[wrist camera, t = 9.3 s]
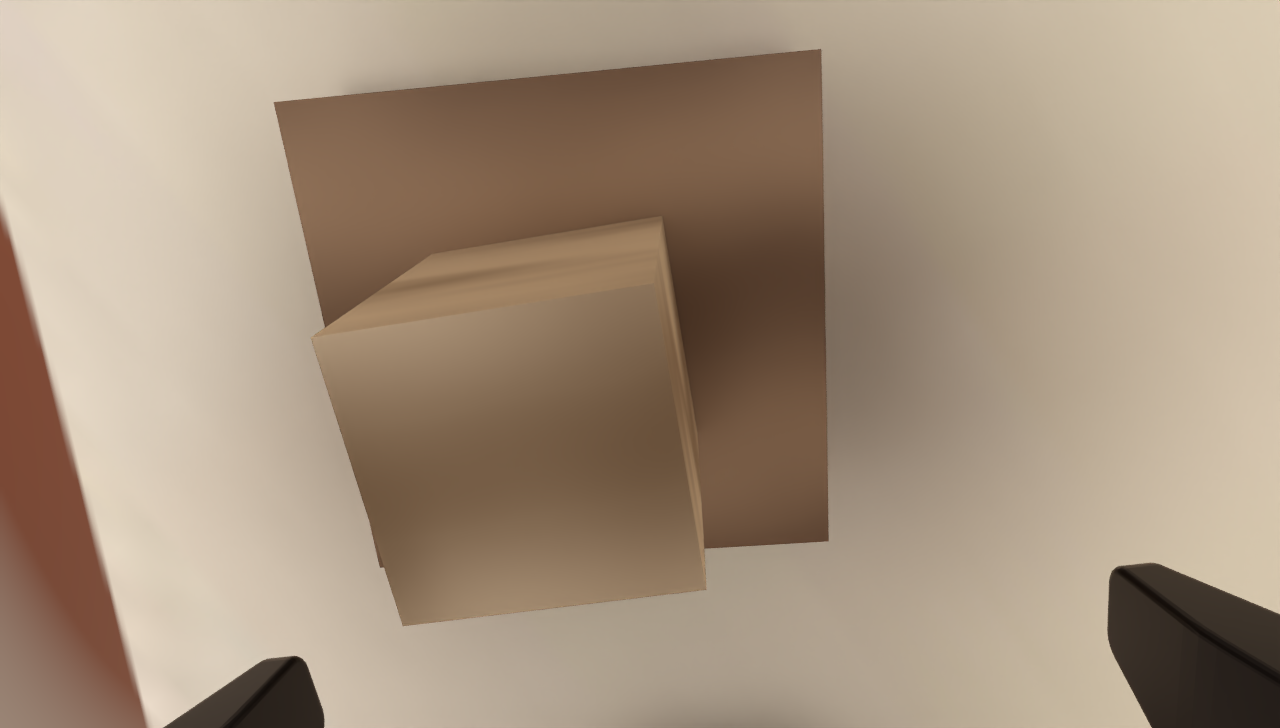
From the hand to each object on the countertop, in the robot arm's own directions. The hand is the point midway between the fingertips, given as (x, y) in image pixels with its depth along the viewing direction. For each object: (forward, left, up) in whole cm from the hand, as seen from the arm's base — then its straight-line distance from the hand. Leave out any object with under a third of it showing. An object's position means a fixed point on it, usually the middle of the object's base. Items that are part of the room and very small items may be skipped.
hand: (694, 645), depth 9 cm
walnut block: (+1, +2, -13) cm, 14 cm away
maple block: (+1, +2, -9) cm, 10 cm away
